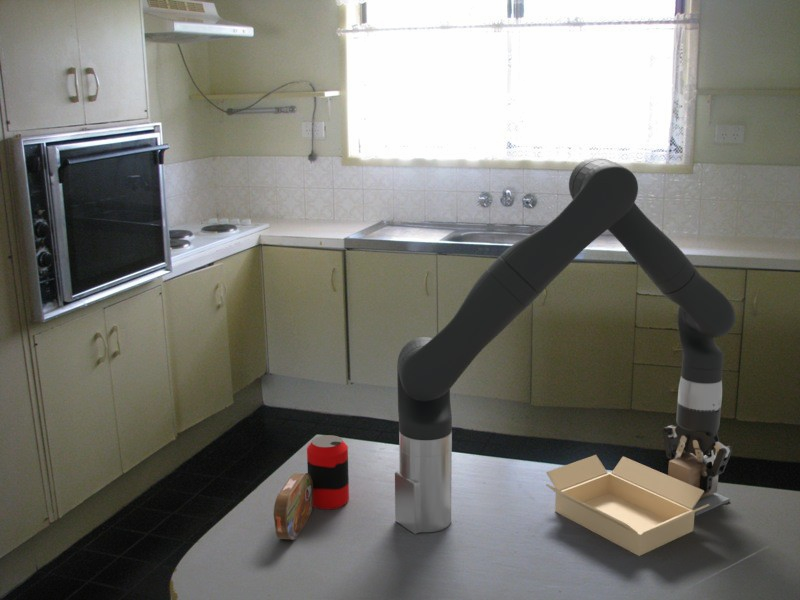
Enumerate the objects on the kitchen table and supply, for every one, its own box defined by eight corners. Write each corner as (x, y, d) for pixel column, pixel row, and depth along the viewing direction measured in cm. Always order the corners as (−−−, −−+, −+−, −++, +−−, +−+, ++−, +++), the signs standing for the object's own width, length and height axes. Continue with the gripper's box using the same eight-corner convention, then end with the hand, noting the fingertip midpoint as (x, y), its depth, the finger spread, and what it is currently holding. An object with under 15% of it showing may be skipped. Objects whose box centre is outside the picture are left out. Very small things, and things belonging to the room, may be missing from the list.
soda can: (333, 513, 158) (331, 452, 155) (300, 503, 162) (298, 444, 159) (356, 497, 164) (355, 438, 162) (324, 488, 168) (322, 430, 165)
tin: (289, 549, 146) (287, 503, 144) (272, 547, 147) (269, 501, 145) (315, 508, 161) (314, 465, 159) (299, 506, 161) (297, 464, 159)
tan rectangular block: (686, 505, 158) (689, 469, 156) (666, 495, 161) (668, 460, 159) (717, 491, 163) (720, 457, 161) (696, 483, 166) (699, 449, 164)
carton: (641, 571, 138) (644, 533, 137) (530, 510, 159) (531, 476, 157) (720, 533, 150) (723, 498, 148) (606, 481, 170) (608, 449, 169)
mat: (695, 516, 156) (696, 513, 156) (655, 498, 163) (655, 495, 163) (729, 501, 161) (729, 498, 161) (688, 484, 168) (688, 481, 168)
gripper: (654, 394, 161) (648, 479, 165) (721, 417, 150) (713, 508, 154) (679, 386, 165) (673, 469, 169) (746, 408, 154) (738, 496, 158)
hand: (692, 487), depth 161 cm, fingers closed on tan rectangular block, 4 cm apart
